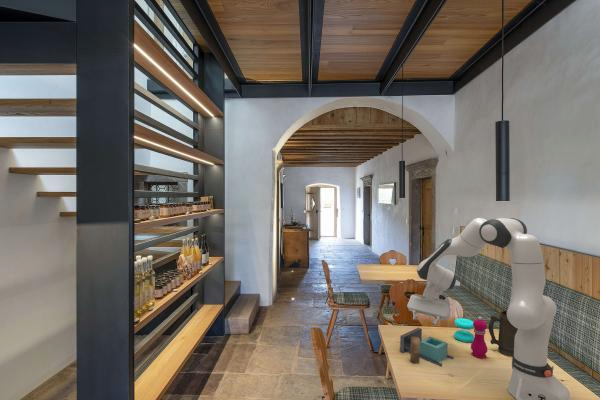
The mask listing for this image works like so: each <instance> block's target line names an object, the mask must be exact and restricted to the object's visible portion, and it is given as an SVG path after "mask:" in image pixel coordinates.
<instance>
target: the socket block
mask: <svg viewBox="0 0 600 400" xmlns="http://www.w3.org/2000/svg"><path fill="white" fill-rule="evenodd" d="M447 354H448V342H446V341H442V340H440V339H437V338H435V337H431V336H428V337H427V338H424V339H423V340H421V341H420V355H422V356H424V357H427V358H429V359H432V360H434V361H436V362H439V363H441V362H442V361H444V360H445V359H447V358H448V357H447Z"/></svg>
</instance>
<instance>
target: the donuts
mask: <svg viewBox="0 0 600 400" xmlns="http://www.w3.org/2000/svg"><path fill="white" fill-rule="evenodd" d="M473 322H474V321H473V320H472V319H468V318H464V317H460V318H456V319H455V320H454V324H455V326H456V327H458V328H459V329H462V330H457V331H454V333H453V336H454V338H455V339H456V340H458V341H459V342H463V343H472V342H473V340H474V337H475V334H473V333H472V332H470V330H474V326H473ZM468 330H469V331H468Z"/></svg>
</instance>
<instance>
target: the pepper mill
mask: <svg viewBox="0 0 600 400" xmlns="http://www.w3.org/2000/svg"><path fill="white" fill-rule="evenodd" d="M473 326H474V328H473V332H474V340H473V341H472V342H471V344H470V350H471V355H472V356H473V357H474V358H477V359H486V358H487V353H488V345H487V344H486V341H485V335H486V330H487V329H488V324H487V321H485V320H484V319H483V317H482V316H477V319H474V321H473Z"/></svg>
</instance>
